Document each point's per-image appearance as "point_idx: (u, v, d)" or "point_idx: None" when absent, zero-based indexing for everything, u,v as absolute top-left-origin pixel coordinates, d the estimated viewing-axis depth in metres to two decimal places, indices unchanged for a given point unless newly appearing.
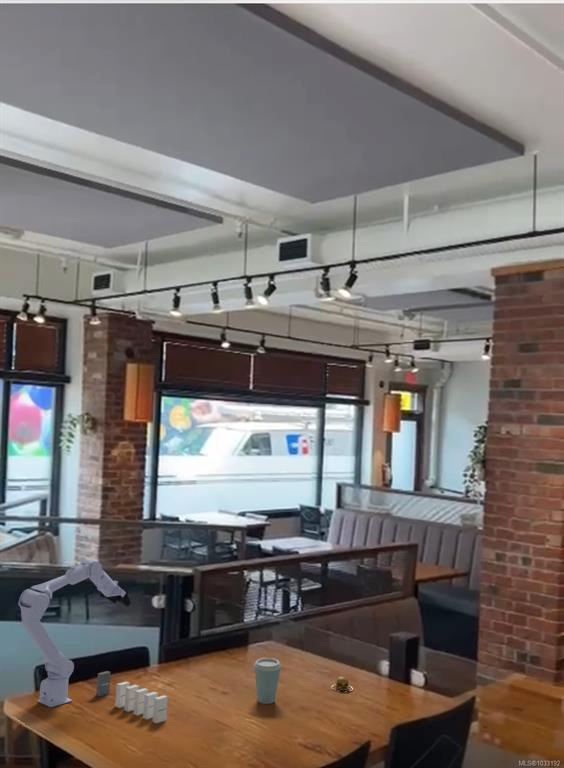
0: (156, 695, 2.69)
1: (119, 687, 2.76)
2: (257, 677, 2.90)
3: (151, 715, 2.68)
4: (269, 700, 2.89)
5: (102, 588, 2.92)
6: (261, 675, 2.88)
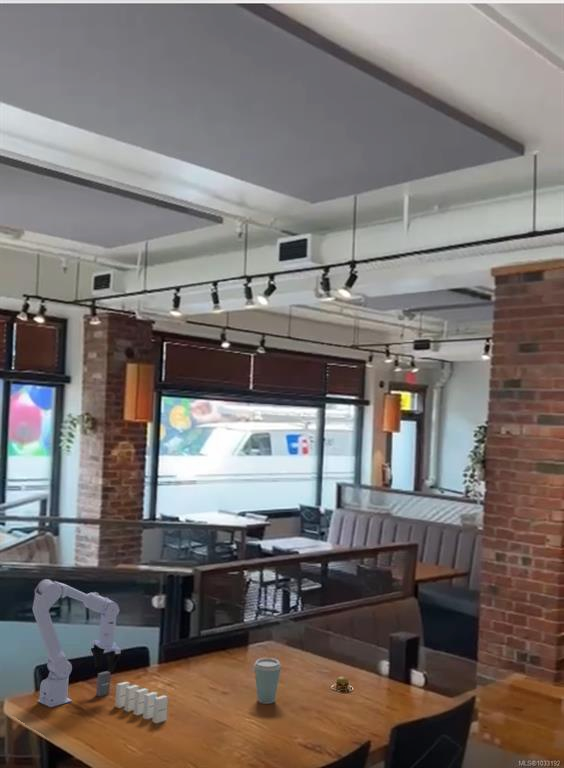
0: (156, 695, 2.69)
1: (119, 687, 2.76)
2: (257, 677, 2.90)
3: (151, 715, 2.68)
4: (269, 700, 2.89)
5: (104, 634, 2.87)
6: (261, 675, 2.88)
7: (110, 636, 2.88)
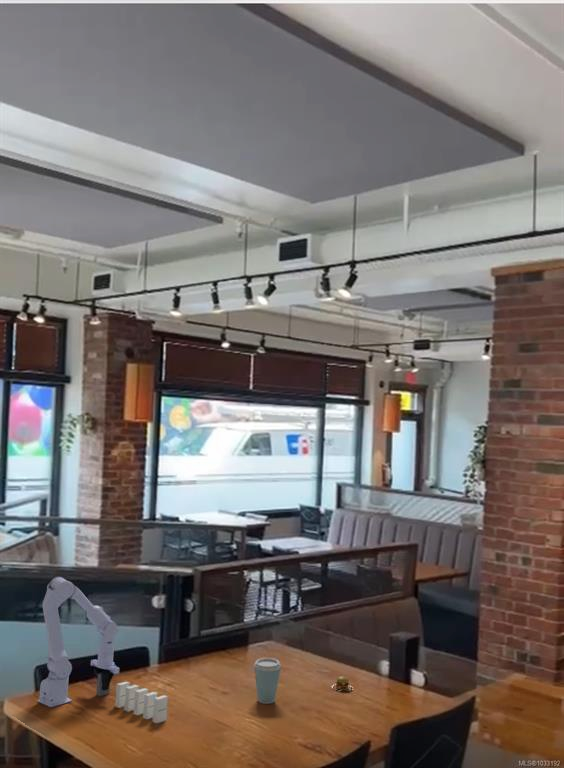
0: (156, 695, 2.69)
1: (119, 687, 2.76)
2: (257, 677, 2.90)
3: (151, 715, 2.68)
4: (269, 700, 2.89)
5: (103, 654, 2.87)
6: (261, 675, 2.88)
7: (109, 656, 2.87)
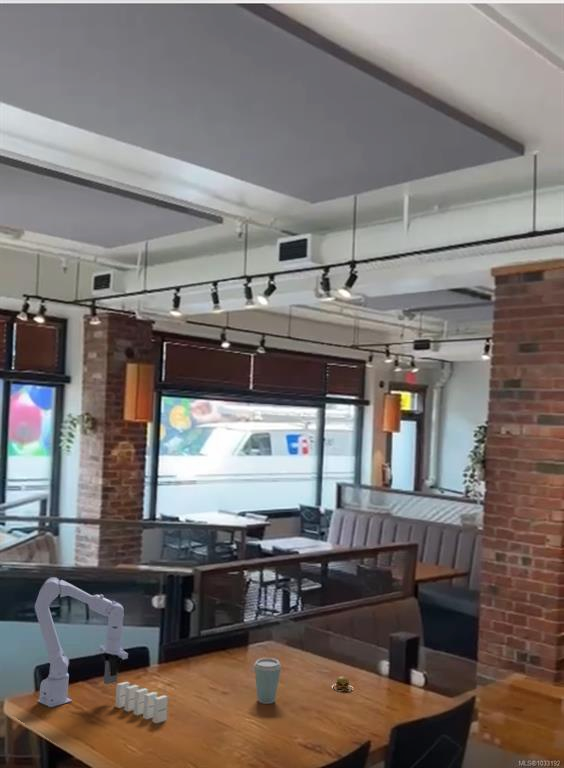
0: (156, 695, 2.69)
1: (119, 687, 2.76)
2: (257, 677, 2.90)
3: (151, 715, 2.68)
4: (269, 700, 2.89)
5: (111, 639, 2.81)
6: (261, 675, 2.88)
7: (117, 641, 2.81)
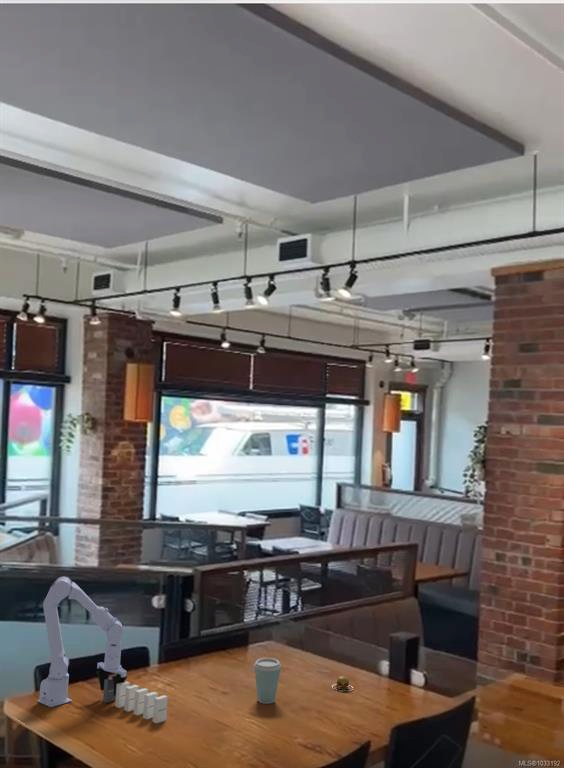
0: (156, 695, 2.69)
1: (119, 687, 2.76)
2: (257, 677, 2.90)
3: (151, 715, 2.68)
4: (269, 700, 2.89)
5: (109, 657, 2.80)
6: (261, 675, 2.88)
7: (116, 658, 2.81)
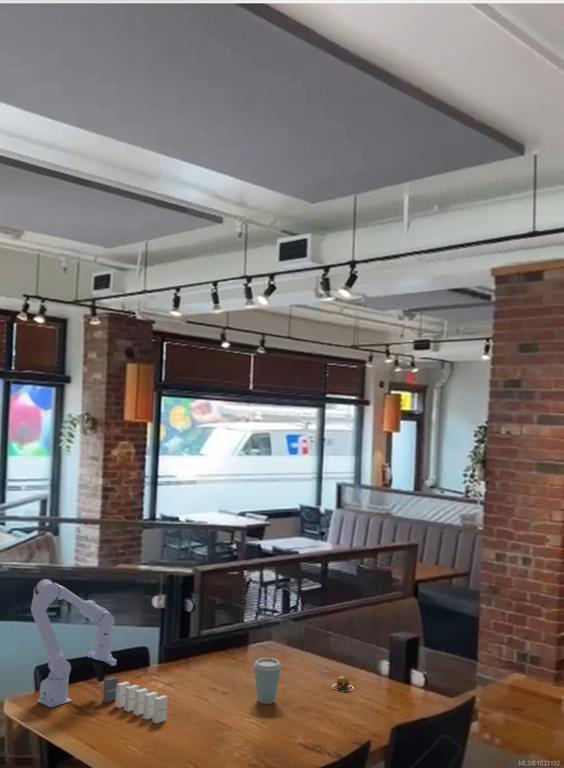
0: (156, 695, 2.69)
1: (119, 687, 2.76)
2: (257, 677, 2.90)
3: (151, 715, 2.68)
4: (269, 700, 2.89)
5: (100, 646, 2.84)
6: (261, 675, 2.88)
7: (106, 647, 2.85)
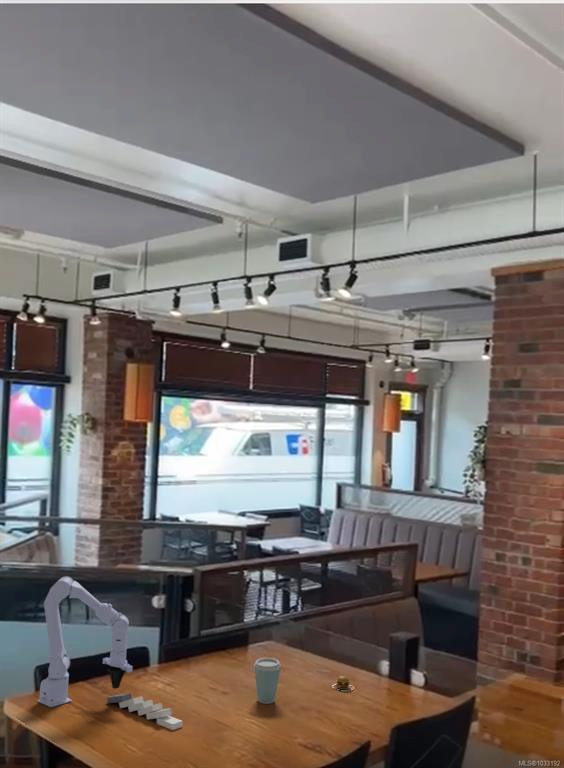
0: (168, 714, 2.64)
1: (132, 704, 2.71)
2: (257, 677, 2.90)
3: None
4: (269, 700, 2.89)
5: (115, 652, 2.79)
6: (261, 675, 2.88)
7: (121, 654, 2.79)
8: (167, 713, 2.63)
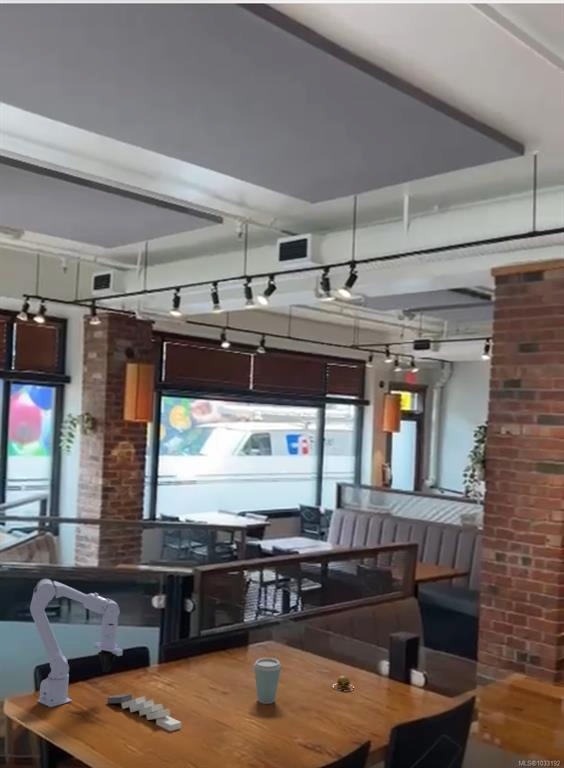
0: (167, 715, 2.63)
1: (134, 704, 2.71)
2: (257, 677, 2.90)
3: None
4: (269, 700, 2.89)
5: (106, 636, 2.83)
6: (261, 675, 2.88)
7: (112, 638, 2.83)
8: (165, 714, 2.62)
